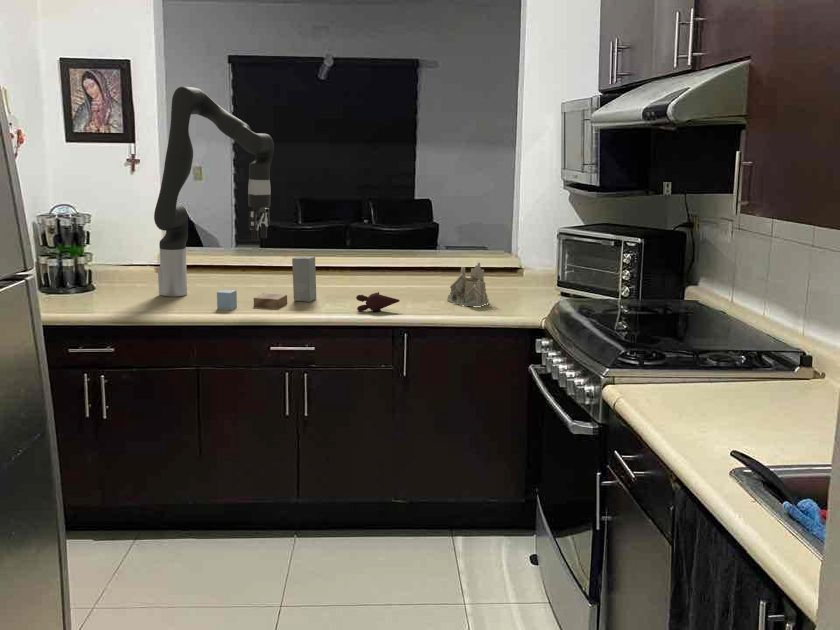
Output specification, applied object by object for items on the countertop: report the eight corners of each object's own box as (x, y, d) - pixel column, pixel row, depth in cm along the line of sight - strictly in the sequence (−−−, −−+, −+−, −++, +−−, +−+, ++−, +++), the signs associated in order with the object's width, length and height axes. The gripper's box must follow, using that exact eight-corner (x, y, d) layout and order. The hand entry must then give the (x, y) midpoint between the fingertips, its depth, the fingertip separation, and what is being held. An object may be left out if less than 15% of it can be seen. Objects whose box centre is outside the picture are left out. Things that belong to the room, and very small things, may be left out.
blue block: (217, 309, 298) (216, 292, 297) (223, 306, 303) (223, 289, 302) (230, 310, 297) (230, 293, 296) (236, 307, 302) (236, 290, 301)
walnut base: (253, 307, 304) (253, 297, 303) (263, 302, 312) (263, 293, 312) (278, 309, 302) (278, 299, 301) (287, 304, 311) (287, 294, 310)
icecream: (398, 291, 305) (356, 294, 305) (399, 289, 298) (355, 292, 297) (400, 310, 305) (357, 313, 304) (400, 309, 298) (356, 312, 297)
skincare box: (310, 302, 313) (310, 259, 310) (291, 301, 315) (291, 257, 311) (317, 298, 321) (317, 255, 318) (299, 297, 323) (298, 254, 319)
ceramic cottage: (451, 296, 331) (454, 258, 327) (493, 302, 326) (496, 263, 322) (439, 306, 317) (441, 266, 313) (482, 312, 312) (485, 271, 307)
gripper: (256, 190, 306) (256, 236, 309) (241, 193, 292) (241, 241, 296) (276, 191, 305) (276, 238, 308) (262, 194, 291) (262, 243, 294)
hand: (259, 239), depth 302 cm, fingers open, 8 cm apart
